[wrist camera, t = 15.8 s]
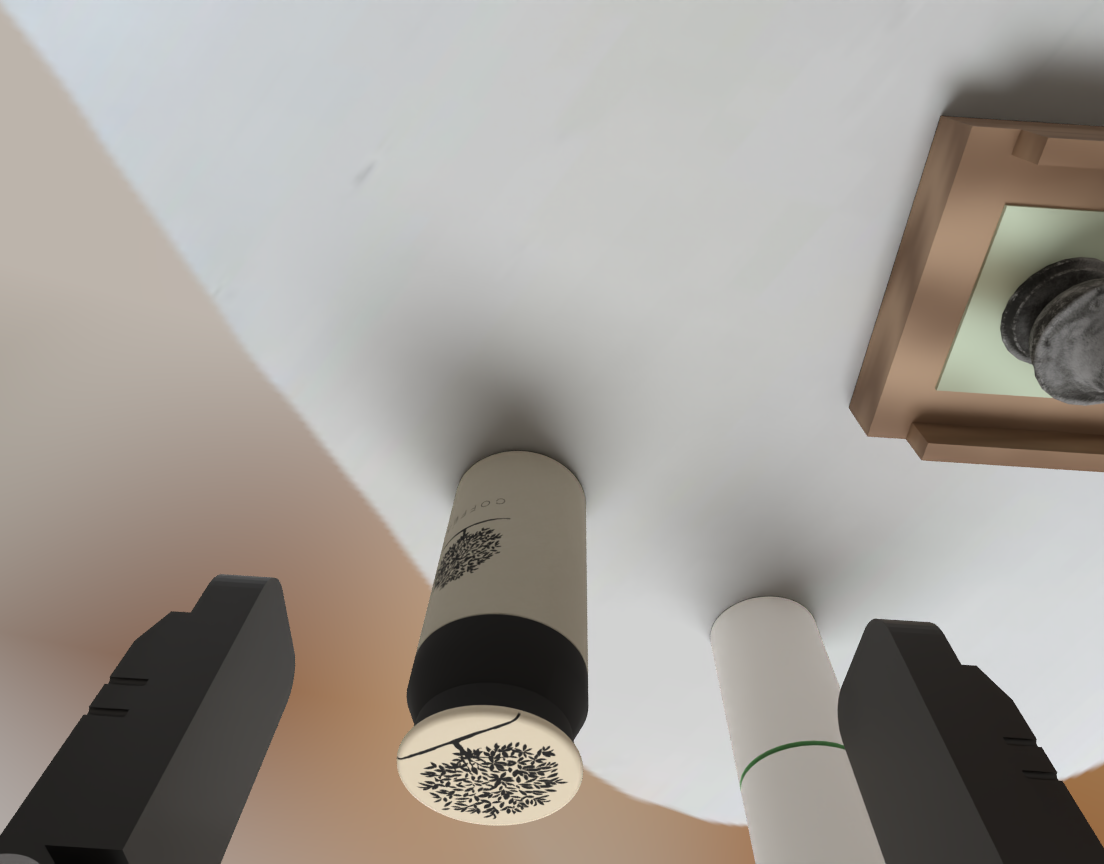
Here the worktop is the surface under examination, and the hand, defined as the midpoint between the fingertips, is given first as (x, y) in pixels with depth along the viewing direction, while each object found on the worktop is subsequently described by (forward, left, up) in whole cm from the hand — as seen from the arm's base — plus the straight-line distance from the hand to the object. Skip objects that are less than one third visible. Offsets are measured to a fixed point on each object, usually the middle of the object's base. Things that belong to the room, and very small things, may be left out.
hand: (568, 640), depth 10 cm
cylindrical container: (+29, +15, -28) cm, 43 cm away
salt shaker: (+4, +23, -25) cm, 34 cm away
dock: (+4, +23, -28) cm, 36 cm away
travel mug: (+19, -2, -28) cm, 34 cm away
